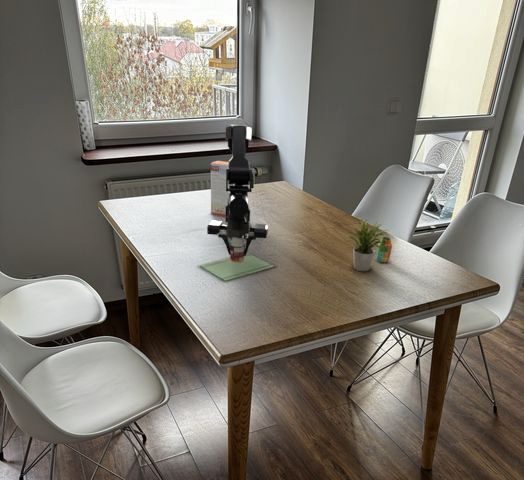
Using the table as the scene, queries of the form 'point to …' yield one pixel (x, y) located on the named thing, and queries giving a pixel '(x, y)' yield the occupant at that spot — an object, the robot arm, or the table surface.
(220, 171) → the cracker box
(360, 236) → the house plant
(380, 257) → the colorful patterned jar
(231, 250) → the pill bottle
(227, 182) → the robot arm
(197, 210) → the table surface
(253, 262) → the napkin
